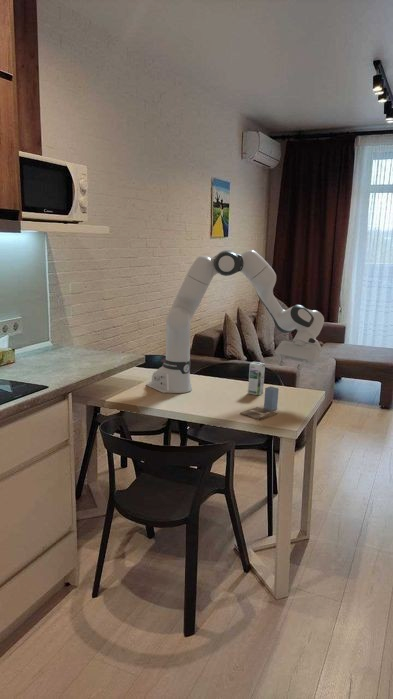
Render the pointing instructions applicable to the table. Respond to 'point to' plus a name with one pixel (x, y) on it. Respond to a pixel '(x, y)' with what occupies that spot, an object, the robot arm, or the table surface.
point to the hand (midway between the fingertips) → (289, 367)
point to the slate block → (271, 398)
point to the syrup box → (256, 378)
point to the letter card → (258, 413)
